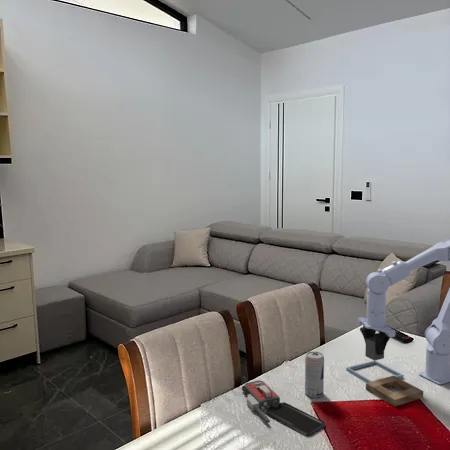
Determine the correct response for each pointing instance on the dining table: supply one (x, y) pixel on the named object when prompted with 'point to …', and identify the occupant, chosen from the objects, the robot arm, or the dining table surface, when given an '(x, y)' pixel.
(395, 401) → the socket block
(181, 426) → the dining table surface
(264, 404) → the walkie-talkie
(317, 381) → the energy drink
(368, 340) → the plug
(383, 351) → the robot arm
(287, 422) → the phone
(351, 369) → the frame
